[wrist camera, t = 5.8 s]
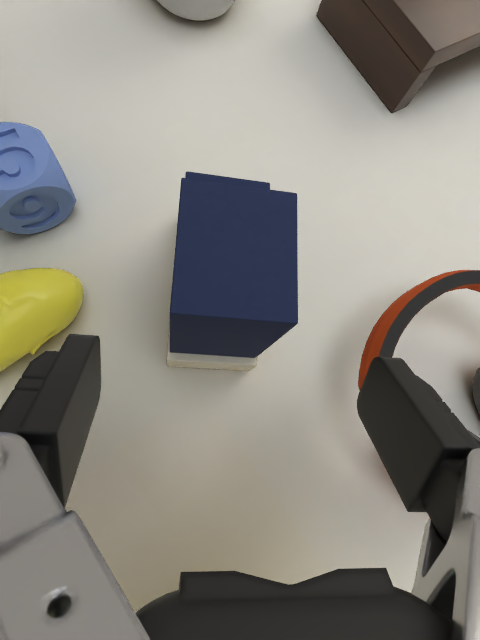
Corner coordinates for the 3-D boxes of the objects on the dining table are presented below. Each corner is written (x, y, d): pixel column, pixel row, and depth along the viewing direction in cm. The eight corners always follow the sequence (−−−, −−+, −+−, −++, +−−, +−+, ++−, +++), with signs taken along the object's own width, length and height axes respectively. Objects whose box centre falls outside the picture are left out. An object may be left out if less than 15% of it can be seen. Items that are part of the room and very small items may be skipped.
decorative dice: (52, 162, 23) (29, 110, 19) (82, 216, 23) (65, 173, 19) (-17, 186, 22) (-55, 136, 18) (13, 244, 22) (-20, 205, 18)
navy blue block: (249, 371, 22) (300, 335, 13) (166, 366, 21) (165, 324, 13) (253, 227, 24) (299, 120, 16) (179, 219, 24) (185, 101, 15)
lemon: (106, 327, 21) (94, 306, 18) (-47, 407, 19) (-98, 402, 15) (70, 264, 22) (50, 231, 18) (-83, 334, 20) (-141, 312, 16)
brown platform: (391, 113, 29) (435, 51, 24) (316, 15, 30) (343, -62, 26) (524, 51, 34) (583, -11, 29) (453, -32, 35) (498, -104, 30)
